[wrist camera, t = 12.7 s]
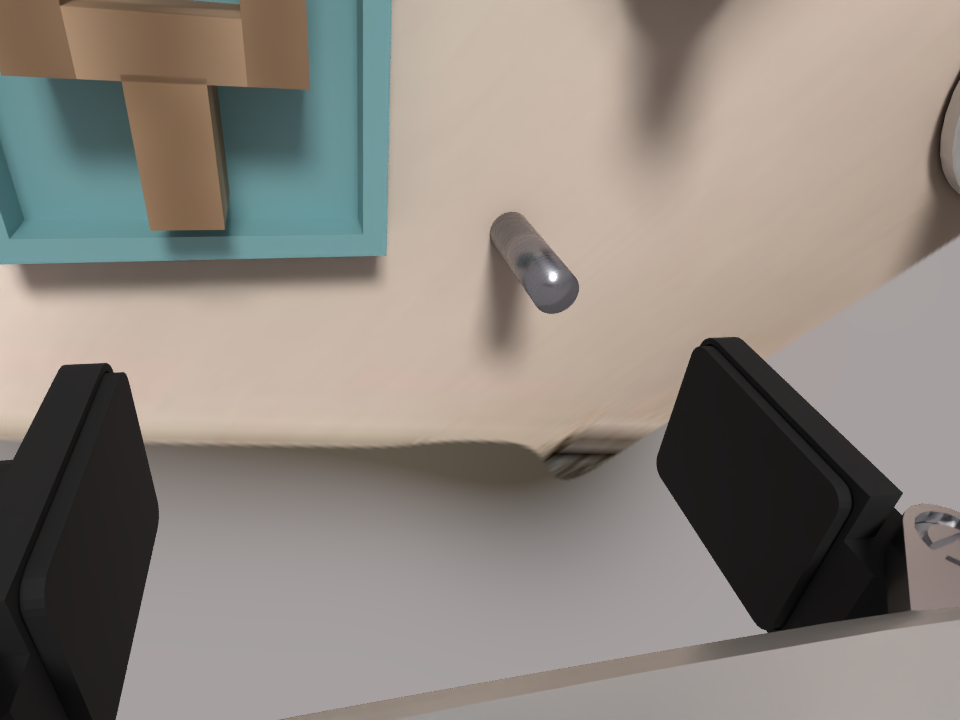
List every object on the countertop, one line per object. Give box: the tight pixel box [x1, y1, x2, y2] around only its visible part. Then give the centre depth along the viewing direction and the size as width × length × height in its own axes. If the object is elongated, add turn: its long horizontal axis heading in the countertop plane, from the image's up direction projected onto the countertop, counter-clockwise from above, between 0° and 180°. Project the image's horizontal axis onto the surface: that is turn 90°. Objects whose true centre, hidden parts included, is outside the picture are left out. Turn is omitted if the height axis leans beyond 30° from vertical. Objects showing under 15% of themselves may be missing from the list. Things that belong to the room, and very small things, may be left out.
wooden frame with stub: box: [0, 0, 310, 231], centre depth 21 cm, size 9×14×4 cm, turn 174°
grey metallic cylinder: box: [490, 212, 579, 314], centre depth 30 cm, size 2×2×6 cm
